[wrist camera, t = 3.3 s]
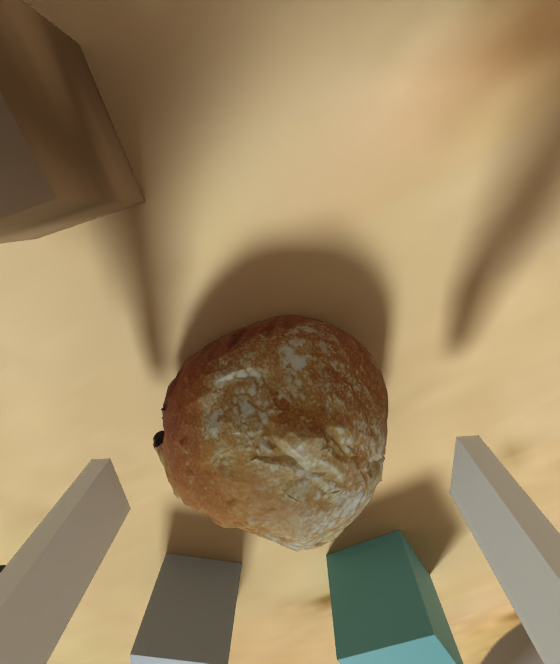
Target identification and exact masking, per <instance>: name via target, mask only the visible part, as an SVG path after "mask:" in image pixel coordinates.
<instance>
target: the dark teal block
mask: <svg viewBox="0 0 560 664" xmlns="http://www.w3.org/2000/svg"><path fill="white" fill-rule="evenodd" d="M326 557H327V567H328V577H329V587H330V596H331V606H332V616H333V625H334V635H335V645H336V655H337V660H338V661H339V662H340V663H341V664H463V662H462V659H461V656H460V654H459V651H458V648H457V646H456V643H455V641H454V638H453V635H452V633H451V630H450V627H449V625H448V622H447V619H446V617H445V614H444V611H443V609H442V606H441V603H440V601H439V598H438V596H437V593H436V590H435V588H434V585H433V582H432V580H431V577H430V575H429V573H428V572H427V570H426V569H425V567H424V566H423V564H422V563H421V561H420V560H419V558H418V557H417V555H416V554H415V552H414V551H413V549H412V548H411V546H410V545H409V543H408V542H407V541H406V539H405V538H404V536H403V535H402V533H401V532H400V530H397V531H395V532H392V533H389V534H386V535H383V536H380V537H377V538H374V539H372V540H369V541H366V542H363V543H360V544H357V545H354V546H351V547H348V548H346V549H343V550H340V551H337V552H334V553H331V554H328V555H326Z"/></svg>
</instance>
